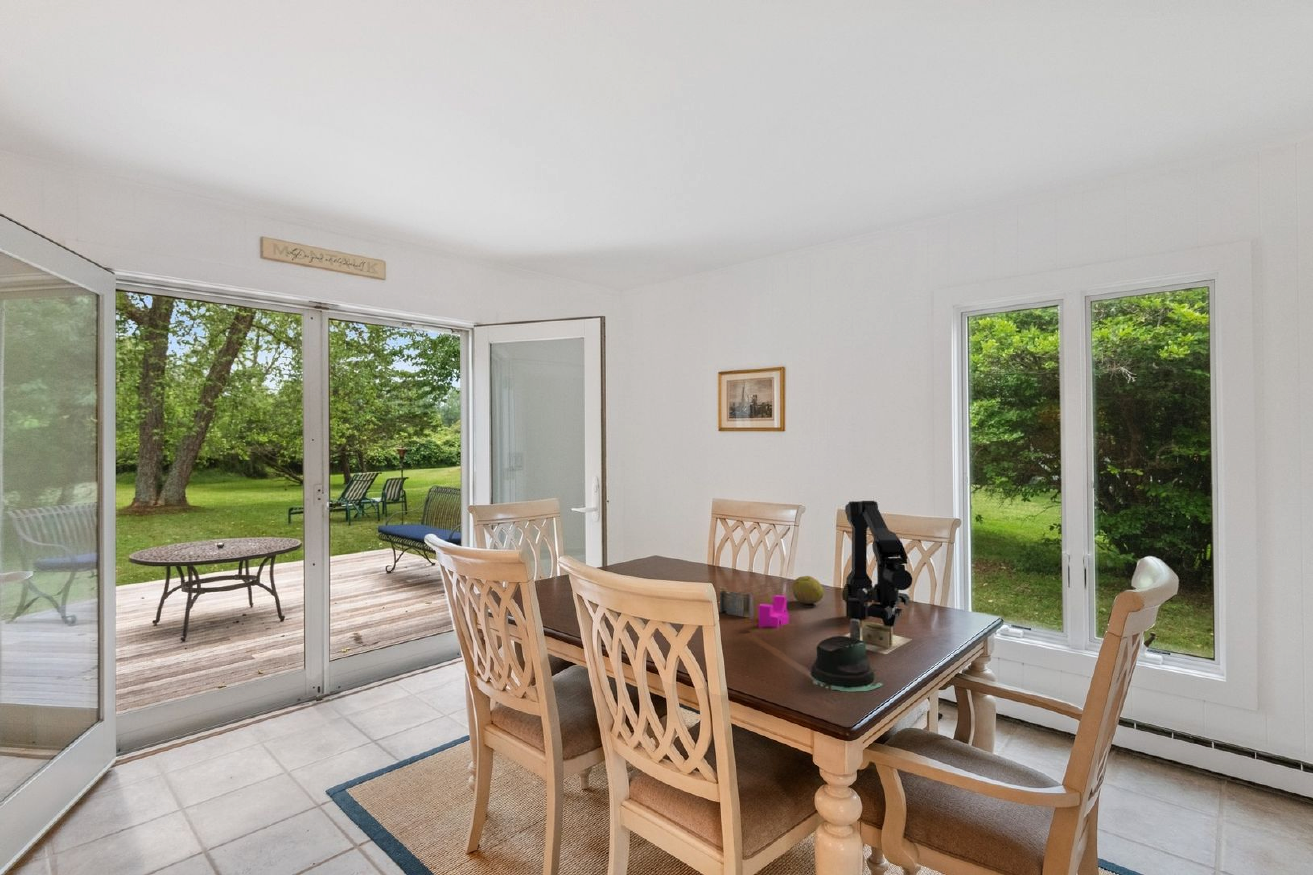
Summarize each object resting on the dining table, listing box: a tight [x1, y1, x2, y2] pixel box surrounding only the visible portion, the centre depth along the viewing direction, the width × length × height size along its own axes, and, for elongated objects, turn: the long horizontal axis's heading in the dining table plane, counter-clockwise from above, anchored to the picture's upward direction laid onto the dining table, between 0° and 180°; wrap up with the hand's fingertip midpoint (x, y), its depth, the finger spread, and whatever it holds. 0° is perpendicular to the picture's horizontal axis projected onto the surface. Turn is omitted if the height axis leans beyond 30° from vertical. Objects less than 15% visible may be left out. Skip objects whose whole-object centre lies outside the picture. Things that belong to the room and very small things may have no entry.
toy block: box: [758, 594, 790, 628], centre depth 199 cm, size 15×6×8 cm, turn 148°
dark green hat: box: [810, 635, 884, 693], centre depth 155 cm, size 20×20×9 cm
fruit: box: [791, 575, 825, 605], centre depth 222 cm, size 11×12×10 cm
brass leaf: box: [861, 620, 894, 646], centre depth 176 cm, size 8×1×5 cm, turn 51°
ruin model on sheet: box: [719, 586, 754, 618], centre depth 210 cm, size 11×3×10 cm, turn 58°
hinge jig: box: [843, 618, 913, 655], centre depth 178 cm, size 16×17×7 cm
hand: (889, 634), depth 176 cm, fingers closed
